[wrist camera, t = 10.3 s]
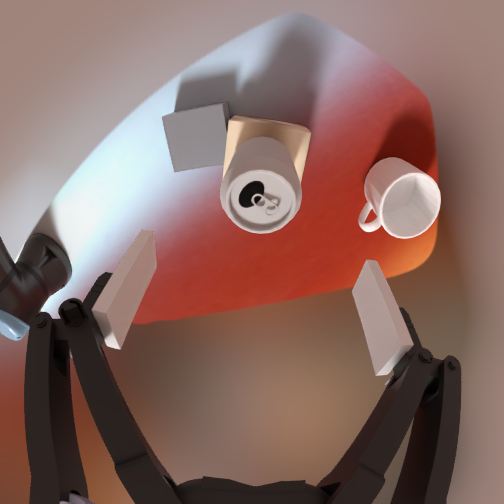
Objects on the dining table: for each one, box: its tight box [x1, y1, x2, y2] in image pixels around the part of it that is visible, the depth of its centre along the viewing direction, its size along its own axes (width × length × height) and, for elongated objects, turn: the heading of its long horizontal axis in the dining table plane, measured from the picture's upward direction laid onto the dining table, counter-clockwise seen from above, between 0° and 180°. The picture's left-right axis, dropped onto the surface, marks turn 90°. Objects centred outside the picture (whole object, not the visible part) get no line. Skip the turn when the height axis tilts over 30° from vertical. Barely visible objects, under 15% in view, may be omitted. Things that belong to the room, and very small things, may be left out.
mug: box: [359, 157, 441, 239], centre depth 36 cm, size 13×10×8 cm
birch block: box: [223, 115, 311, 184], centre depth 35 cm, size 10×10×6 cm
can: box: [220, 136, 302, 234], centre depth 28 cm, size 8×8×12 cm
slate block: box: [162, 102, 230, 172], centre depth 34 cm, size 8×8×5 cm
